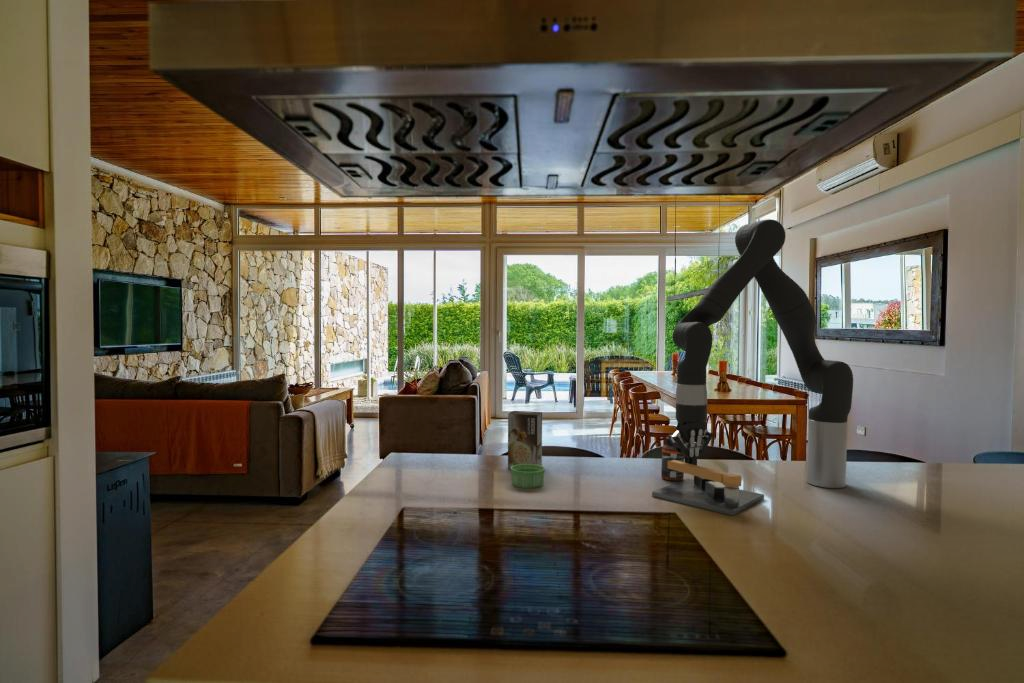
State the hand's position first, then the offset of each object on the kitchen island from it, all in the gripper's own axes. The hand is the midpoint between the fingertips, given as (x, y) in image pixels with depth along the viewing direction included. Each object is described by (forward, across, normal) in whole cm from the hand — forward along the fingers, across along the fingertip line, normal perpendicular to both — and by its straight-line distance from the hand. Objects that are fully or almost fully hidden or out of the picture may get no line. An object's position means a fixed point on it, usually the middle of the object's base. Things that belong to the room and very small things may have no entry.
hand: (690, 470), depth 147 cm
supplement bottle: (+6, +5, +12) cm, 14 cm away
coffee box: (+5, -27, +39) cm, 48 cm away
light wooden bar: (0, -2, -5) cm, 6 cm away
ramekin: (+5, -34, +23) cm, 41 cm away
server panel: (+6, +1, -5) cm, 8 cm away
